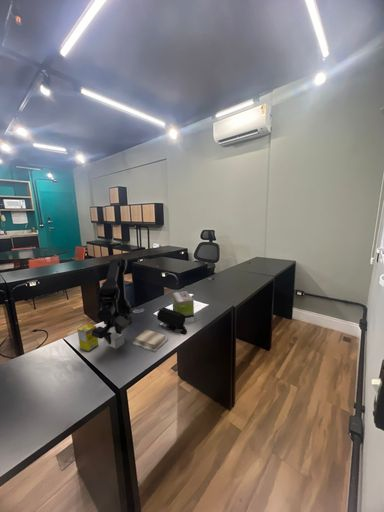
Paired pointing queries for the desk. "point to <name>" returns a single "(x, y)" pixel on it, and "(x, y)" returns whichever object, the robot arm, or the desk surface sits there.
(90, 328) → the supplement box
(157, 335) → the stand
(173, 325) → the security camera
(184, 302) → the tea box
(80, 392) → the desk surface
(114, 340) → the block
